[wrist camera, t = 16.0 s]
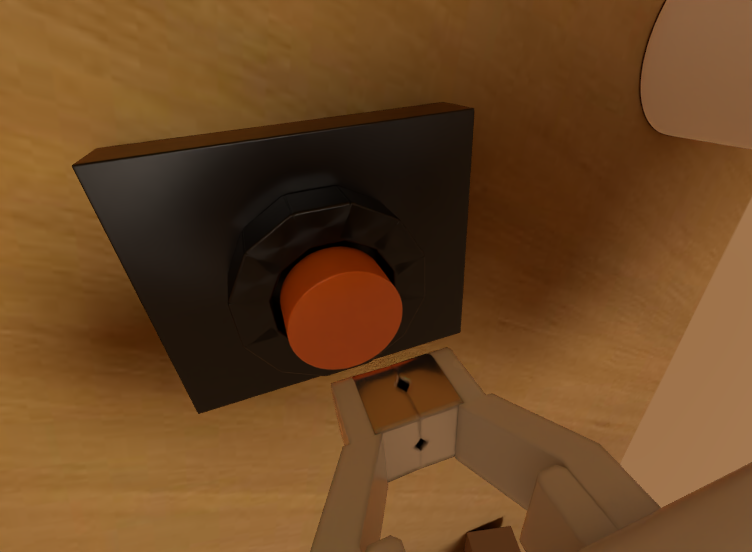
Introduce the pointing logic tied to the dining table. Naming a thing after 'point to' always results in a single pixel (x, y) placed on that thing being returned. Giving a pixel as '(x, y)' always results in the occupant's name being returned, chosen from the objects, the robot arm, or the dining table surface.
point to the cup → (701, 72)
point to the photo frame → (491, 541)
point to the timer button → (339, 308)
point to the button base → (284, 232)
